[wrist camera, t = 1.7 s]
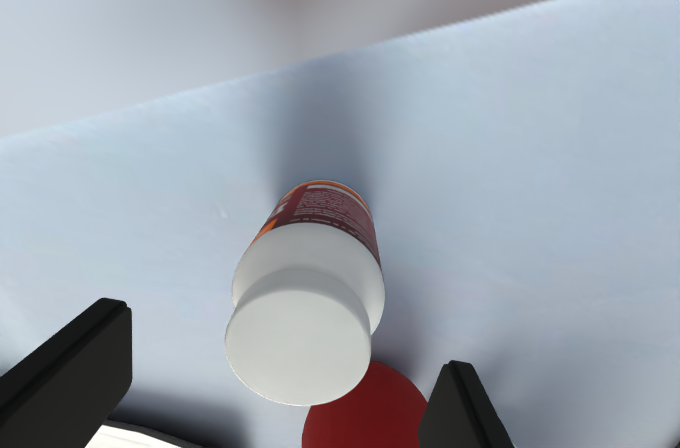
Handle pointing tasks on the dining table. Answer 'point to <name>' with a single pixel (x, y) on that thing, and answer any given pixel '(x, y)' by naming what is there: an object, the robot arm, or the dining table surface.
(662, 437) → the dining table surface
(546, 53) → the dining table surface
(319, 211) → the pill bottle
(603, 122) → the dining table surface
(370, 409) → the apple
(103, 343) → the robot arm
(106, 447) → the plate
